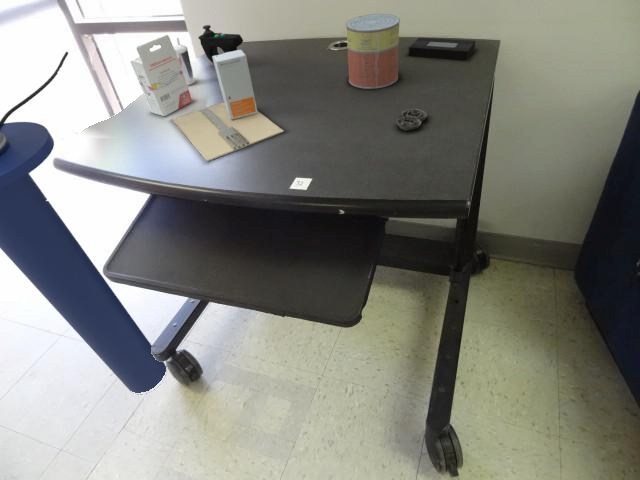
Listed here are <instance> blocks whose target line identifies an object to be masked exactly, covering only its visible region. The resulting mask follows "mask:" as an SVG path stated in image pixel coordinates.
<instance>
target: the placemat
mask: <svg viewBox="0 0 640 480" xmlns="http://www.w3.org/2000/svg"><path fill="white" fill-rule="evenodd" d="M207 108H208V109H209V110H210V111H211V112H212V113H213V114H214V115H215V116H216V117H218V118H219V119H220V120H221V121H222V122H223V123H224V124H225V125H226V126H227V127H228V128H230V127H233V128H234V129H235V130H237V131H238V132H239V133H240V134H241V135H242V136H243V137H244V138H245V139H246V140H248V141H249V144H248V145H247V144H246V143H245V142H244V141H243V140H242V139H240V138H239V137H238V136H237V135H236V136H237V137H238V138H239V139H240V140H241V141H242V142H244V143H245V146H242V145H241V144H240V143H239V142H238V141H237V140H236V139H235V138H233V137H232V138H233V139H234V140H235V141H236V142H237V143H239V144H240V146H241V147H240V148H238V147H237V146H236V145H235V144H234V143H233V142H232V141H231V140H230V139H229V138H227V139H228V140H229V141H230V142H231V143H232V144H233V145H234V146H235V147H236V149H235V150H234V149H233V148H232V147H231V146H230V145H229V144H228V143H227V142H226V141H225V140H224V139H223V138H222V137H221V136H220V135H219V134H218V132H219V131H220V130H219V129H218V128H217V127H216V126H215V125H214V124H213V123H212V122H211V121H210V120H209V119H208V118H207V117H206V116H205V115H204V114H203V113H202V112H201V111H200V109H199V110H198V109H197V110H196V111H193V112H190V113H187V114H184V115H180V116H178V117H175V118H172V119H171V120H172V121H173V123H174V124H175V125H176V126H177V127H178V129H179V130H180V131H181V132H182V133H183V135H184V136H185V137H186V138H187V140H188V141H189V142H190V143H191V144H192V145H193V147H194V148H195V149H196V150H197V152H199V154H200V155H201V156H202V157H203V159H204V160H205V161H206V162H211V161H213V160H215V159H219V158H222V157H223V156H226V155H228V154H231V153H234V152H237V151H239V150H242V149H244V148H247V147H249V146H252V145H254V144H257V143H260V142H262V141H265V140H267V139H270V138H272V137H275V136H278V135H280V134H283V133H284V132H285V130H283V129H282V128H281V127H279V126H278V125H277V124H275V123H274V122H273V121H271V120H270V119H269V118H268V117H267V116H265V115H264V114H262V112H260V111H258V113H257V114H252V115H248V116H245V117H241V118H237V119H234V120H231V119H230V117H229V115H228V113H227V111H226V107H225V103H224V101H222V102H219V103H216V104H213V105H210V106H207Z"/></svg>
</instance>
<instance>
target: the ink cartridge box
mask: <svg viewBox="0 0 640 480" xmlns="http://www.w3.org/2000/svg"><path fill="white" fill-rule="evenodd" d="M154 46H160V48H157V49H155V50H152V51H150V49H152V48H154ZM173 46H174V45H173V43H172V40H171V38H170V36H169V35H168V34H165V35H163V36H161V37H158V38H156V39H152V40H151V41H148V42H146V43H143V44H141V45H138V46H136V52H137V53H138V55H139V56H138V57H135V58H133V59H130V60H129V62H130V64H131V67H132V70H133V71H134V74H135V77H136V79H137V81H138V83H139V85H140V88H141V90H142V93H143V95H144V97H145V100H146V103H147V104H148V106H149V109H150V111H151V114H155V115H159V116H162V117H166V116H168V115H169V114H171V113H174V112H175V111H178V110H179V109H181V108H183V107H184V106H187V105H189V104H190V103H192V102H193V98H192V95H191V92H190V89H189V85H187V83H186V80H185V77H184V74H183V72H182V69H181V66H180V63H179V60H178V57H177V54H176V52H175V50H174V48H173Z"/></svg>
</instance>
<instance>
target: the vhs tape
mask: <svg viewBox="0 0 640 480" xmlns="http://www.w3.org/2000/svg"><path fill="white" fill-rule="evenodd" d="M475 48H476V40H471V39H468V40H467V39H452V38H435V37H434V38H433V37H418V38H417V39H416V40H415V41H413V43H412V44H411V45H410V46H409V47H408V56H412V57H426V58H435V59H436V58H437V59H448V60H449V59H451V60H462V61H463V60H464V61H467V60H468V59H469V57H470V56H471V55H472V54H473V52H474V50H475Z"/></svg>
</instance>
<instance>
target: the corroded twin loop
mask: <svg viewBox="0 0 640 480" xmlns="http://www.w3.org/2000/svg"><path fill="white" fill-rule="evenodd" d="M400 114H401V117H398V118H396V119H395V123H396V124H397V126H398V128H399V129H400V130H403V131H406V132H407V131H411V130H415V129H419V127H420V126H421V124H422V122H423V121H425V120H426V118H427V117H428V113H427V112H426V111H425V110H424V109H422V108H418V107H416V108H408V109H404V110H403V111H401V113H400Z"/></svg>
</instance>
